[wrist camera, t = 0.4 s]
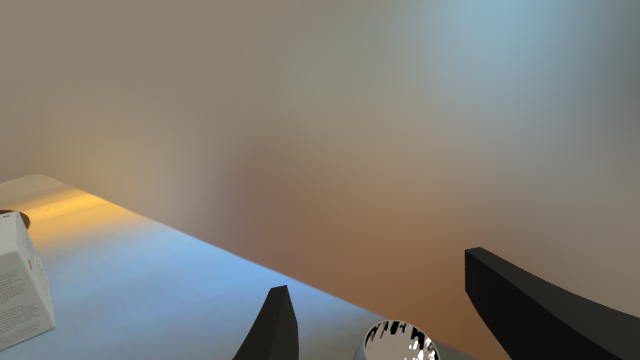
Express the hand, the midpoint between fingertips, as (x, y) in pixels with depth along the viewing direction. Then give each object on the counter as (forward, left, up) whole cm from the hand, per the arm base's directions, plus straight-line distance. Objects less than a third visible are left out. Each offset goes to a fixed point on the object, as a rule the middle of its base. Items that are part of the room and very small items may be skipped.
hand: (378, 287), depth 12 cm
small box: (+11, +34, -21) cm, 41 cm away
